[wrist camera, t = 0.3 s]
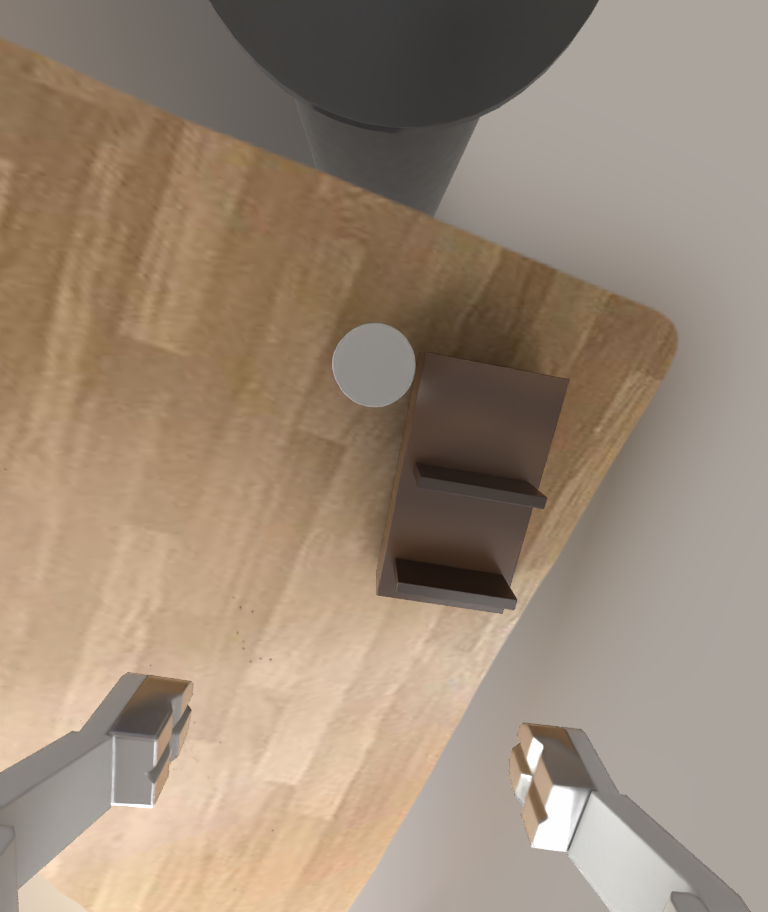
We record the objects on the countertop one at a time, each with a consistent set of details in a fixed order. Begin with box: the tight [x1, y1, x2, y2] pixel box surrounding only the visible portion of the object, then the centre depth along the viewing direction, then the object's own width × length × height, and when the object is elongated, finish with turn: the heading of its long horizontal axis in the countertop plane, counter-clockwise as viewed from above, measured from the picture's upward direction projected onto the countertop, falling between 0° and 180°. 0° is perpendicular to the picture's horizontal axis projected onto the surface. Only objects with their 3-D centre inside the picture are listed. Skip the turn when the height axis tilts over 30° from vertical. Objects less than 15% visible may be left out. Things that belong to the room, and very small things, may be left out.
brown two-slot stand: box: [376, 352, 569, 614], centre depth 36 cm, size 22×12×8 cm, turn 170°
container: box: [332, 323, 416, 407], centre depth 30 cm, size 5×5×15 cm
